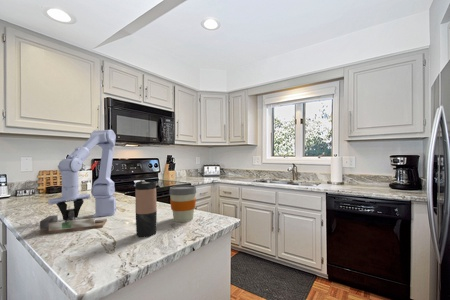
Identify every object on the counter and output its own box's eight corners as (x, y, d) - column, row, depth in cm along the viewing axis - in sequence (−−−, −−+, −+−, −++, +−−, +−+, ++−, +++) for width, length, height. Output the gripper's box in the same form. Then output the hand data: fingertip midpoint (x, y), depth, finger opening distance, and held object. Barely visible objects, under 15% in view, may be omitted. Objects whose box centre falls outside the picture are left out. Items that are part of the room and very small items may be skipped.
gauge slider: (78, 220, 95) (78, 207, 95) (71, 226, 87) (71, 212, 87) (67, 221, 94) (67, 208, 94) (60, 227, 86) (59, 213, 86)
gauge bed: (106, 221, 100) (106, 210, 100) (102, 227, 91) (102, 215, 91) (49, 227, 93) (49, 215, 93) (39, 234, 84) (39, 221, 84)
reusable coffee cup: (192, 213, 109) (191, 184, 109) (200, 220, 98) (199, 187, 98) (167, 217, 104) (166, 186, 104) (172, 224, 92) (172, 190, 93)
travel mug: (161, 231, 85) (160, 180, 85) (148, 238, 78) (147, 183, 78) (145, 229, 87) (144, 180, 88) (131, 236, 80) (130, 183, 80)
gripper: (85, 183, 100) (85, 213, 100) (46, 188, 88) (46, 221, 88) (91, 184, 96) (92, 215, 95) (51, 189, 84) (51, 224, 84)
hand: (70, 218), depth 91 cm, fingers open, 3 cm apart
